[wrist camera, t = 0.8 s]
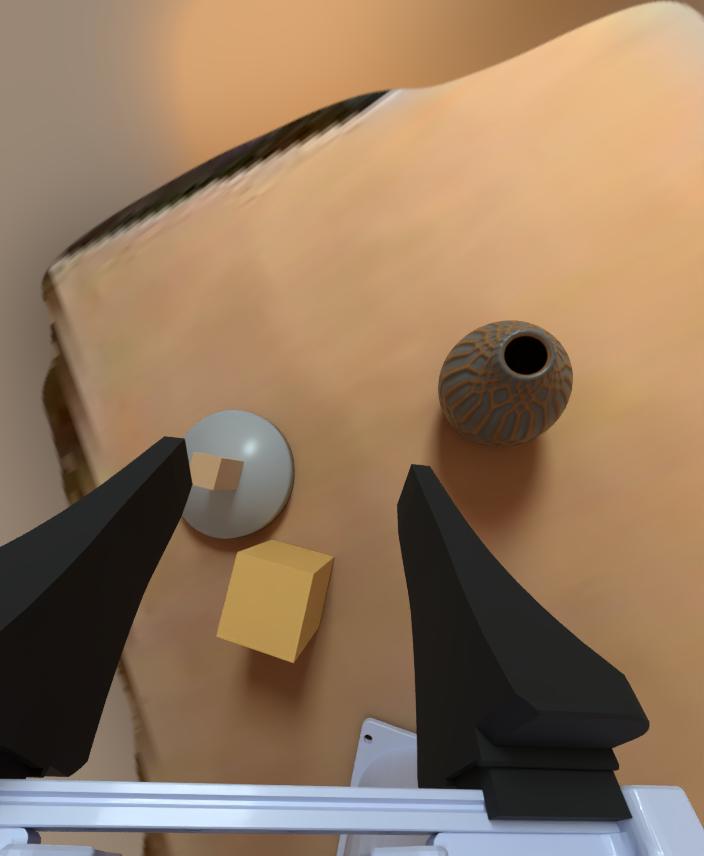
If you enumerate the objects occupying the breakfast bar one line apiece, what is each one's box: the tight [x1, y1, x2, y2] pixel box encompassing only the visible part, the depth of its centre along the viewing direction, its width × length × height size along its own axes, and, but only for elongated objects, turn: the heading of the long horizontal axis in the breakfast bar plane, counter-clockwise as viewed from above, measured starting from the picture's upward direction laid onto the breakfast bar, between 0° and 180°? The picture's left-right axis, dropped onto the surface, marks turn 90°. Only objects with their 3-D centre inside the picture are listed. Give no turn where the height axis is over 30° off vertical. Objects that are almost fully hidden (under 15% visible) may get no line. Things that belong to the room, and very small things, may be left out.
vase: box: [438, 321, 573, 447], centre depth 20 cm, size 7×7×9 cm
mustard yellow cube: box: [216, 540, 334, 663], centre depth 22 cm, size 5×5×5 cm
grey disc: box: [182, 410, 295, 539], centre depth 24 cm, size 9×9×4 cm
